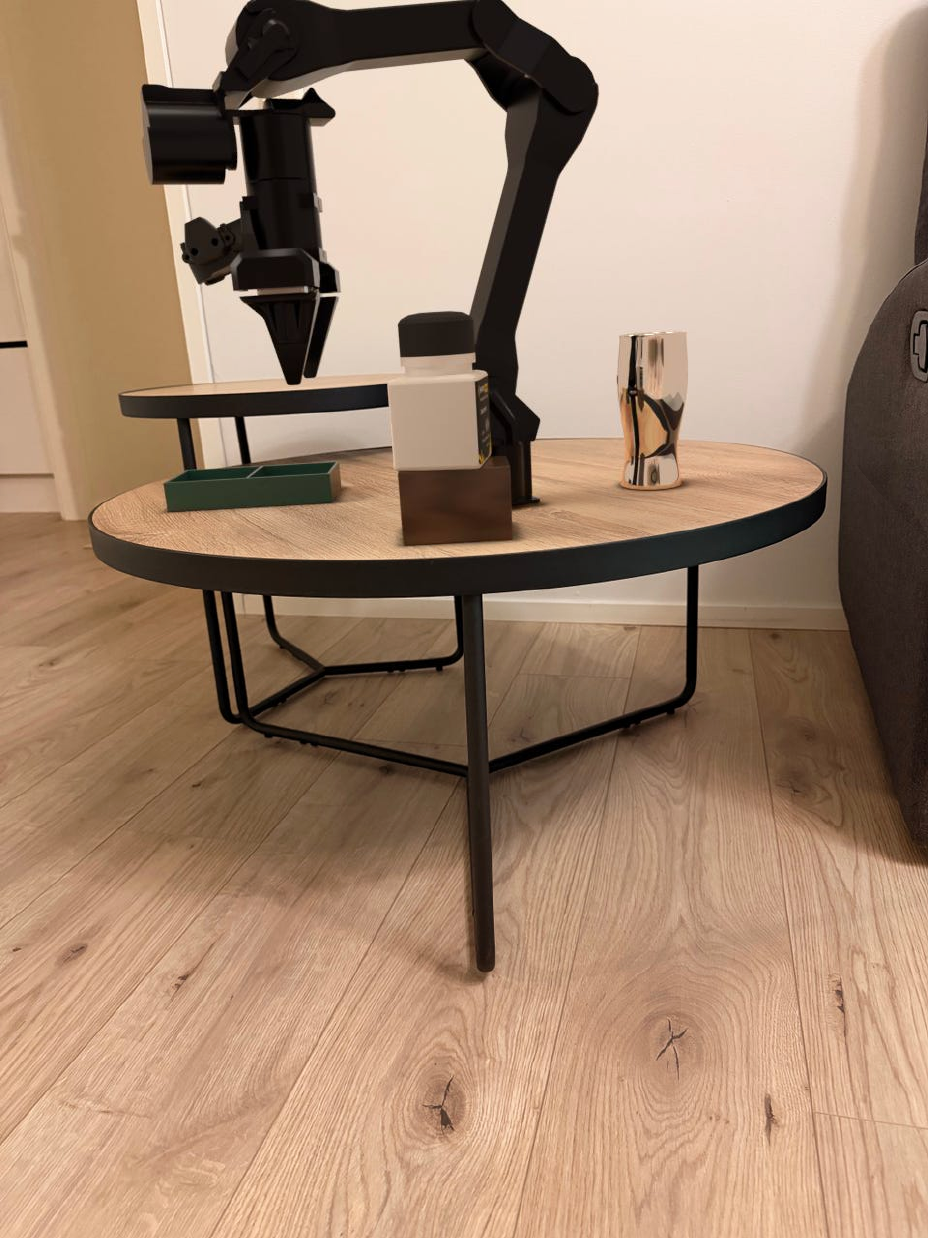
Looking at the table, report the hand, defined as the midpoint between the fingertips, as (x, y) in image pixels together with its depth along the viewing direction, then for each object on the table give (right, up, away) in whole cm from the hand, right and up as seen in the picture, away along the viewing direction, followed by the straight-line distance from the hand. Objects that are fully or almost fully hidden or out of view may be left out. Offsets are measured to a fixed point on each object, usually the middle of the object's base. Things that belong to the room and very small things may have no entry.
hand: (302, 381), depth 80 cm
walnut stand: (+14, -13, -2) cm, 19 cm away
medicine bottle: (+12, -8, -3) cm, 15 cm away
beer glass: (+33, -7, +15) cm, 37 cm away
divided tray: (-8, -8, +20) cm, 23 cm away
